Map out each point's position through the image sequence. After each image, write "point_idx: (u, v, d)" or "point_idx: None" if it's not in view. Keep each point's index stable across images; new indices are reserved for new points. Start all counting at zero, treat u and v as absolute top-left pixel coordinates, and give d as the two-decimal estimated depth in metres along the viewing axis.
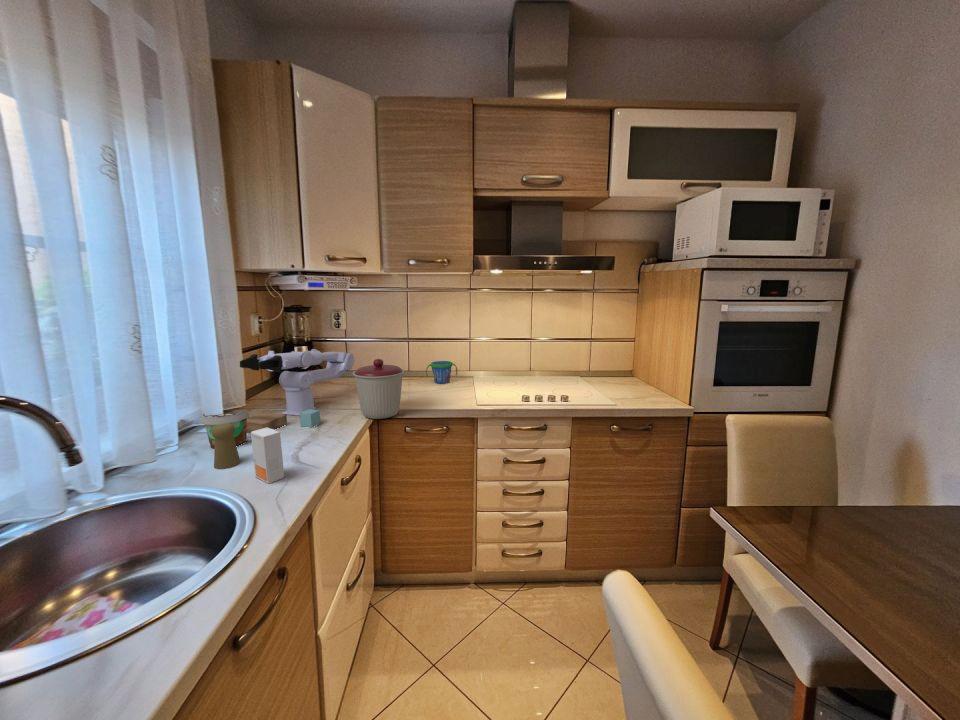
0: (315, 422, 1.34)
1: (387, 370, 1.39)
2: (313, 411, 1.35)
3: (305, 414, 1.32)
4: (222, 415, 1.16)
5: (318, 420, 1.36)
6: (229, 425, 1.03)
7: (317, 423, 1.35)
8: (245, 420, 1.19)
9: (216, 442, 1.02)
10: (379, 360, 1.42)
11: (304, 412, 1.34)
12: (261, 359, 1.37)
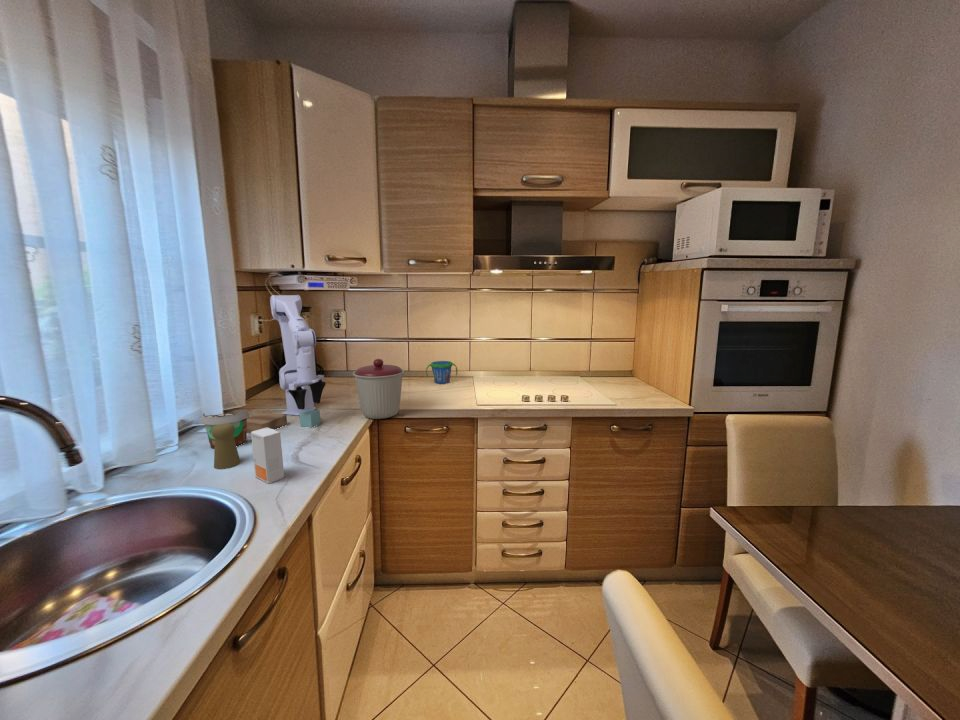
0: (315, 422, 1.34)
1: (387, 370, 1.39)
2: (313, 411, 1.35)
3: (305, 414, 1.32)
4: (222, 415, 1.16)
5: (318, 420, 1.36)
6: (229, 425, 1.03)
7: (317, 423, 1.35)
8: (245, 420, 1.19)
9: (216, 442, 1.02)
10: (379, 360, 1.42)
11: (304, 412, 1.34)
12: None
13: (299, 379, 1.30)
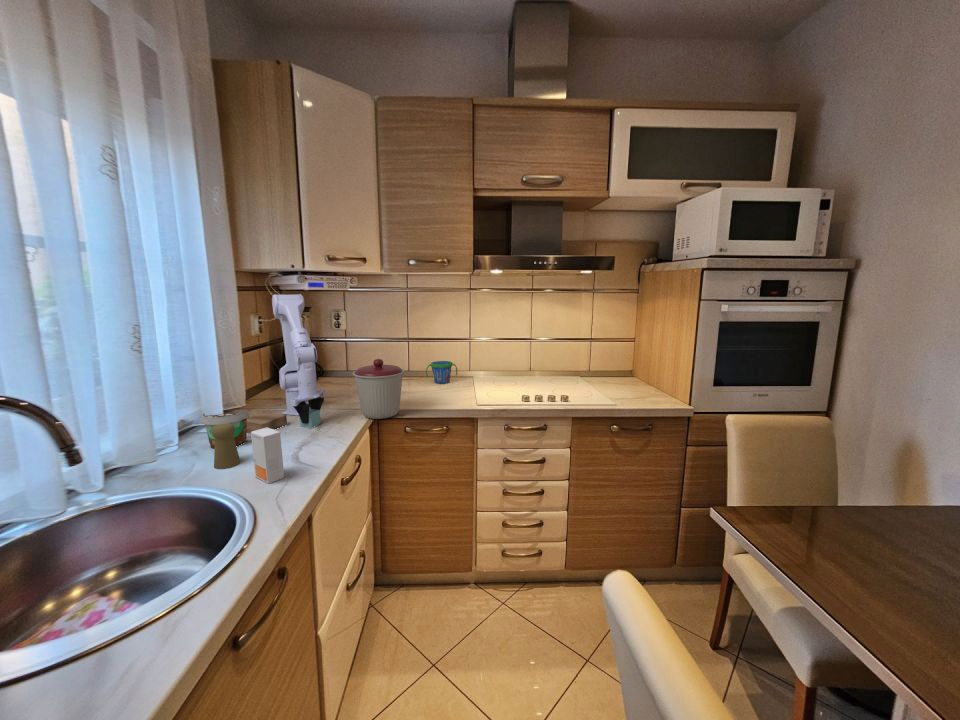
0: (315, 422, 1.34)
1: (387, 370, 1.39)
2: (313, 411, 1.34)
3: None
4: (222, 415, 1.16)
5: (318, 420, 1.36)
6: (229, 425, 1.03)
7: (317, 423, 1.35)
8: (245, 420, 1.19)
9: (216, 442, 1.02)
10: (379, 360, 1.42)
11: None
12: None
13: (300, 395, 1.31)
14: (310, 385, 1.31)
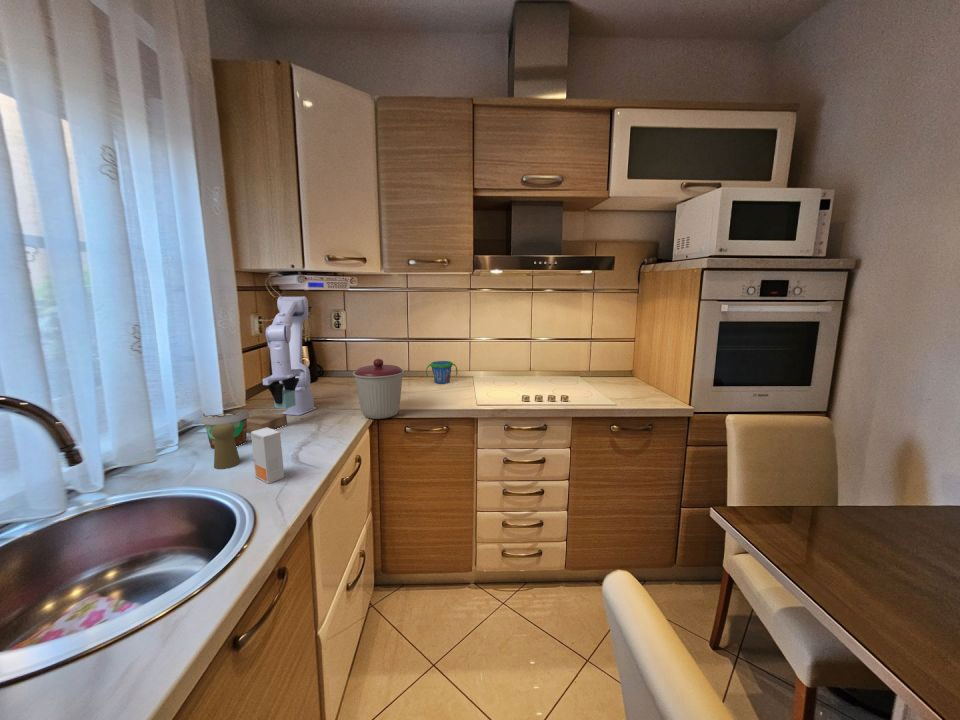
0: (290, 402, 1.32)
1: (387, 370, 1.39)
2: (288, 391, 1.32)
3: None
4: (222, 415, 1.16)
5: (293, 401, 1.33)
6: (229, 425, 1.03)
7: (292, 404, 1.32)
8: (245, 420, 1.19)
9: (216, 442, 1.02)
10: (379, 360, 1.42)
11: None
12: None
13: (274, 374, 1.28)
14: (283, 364, 1.28)
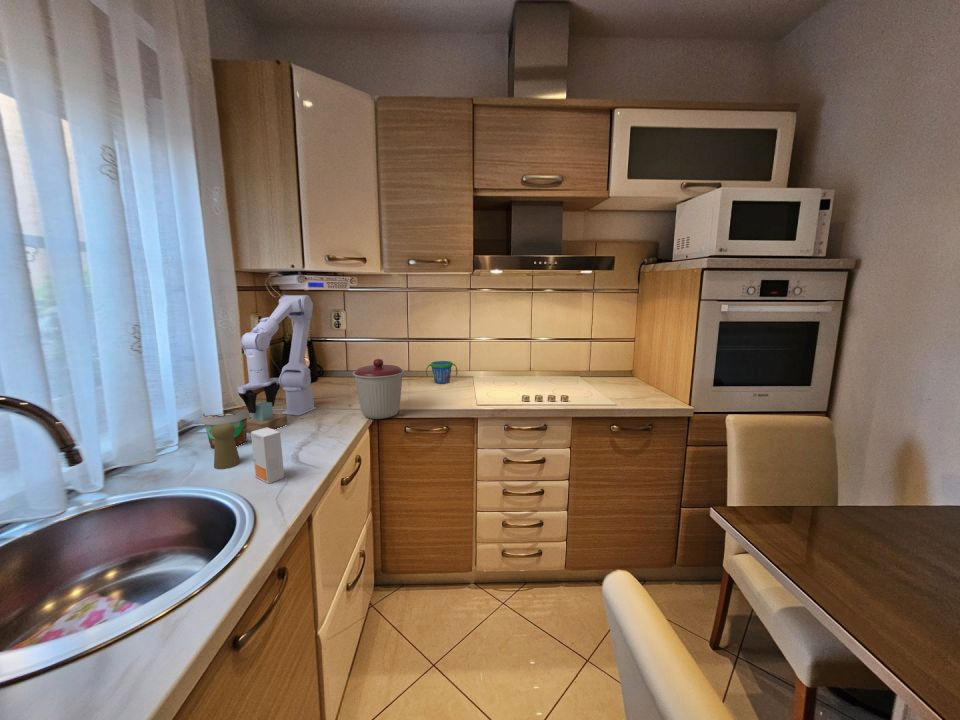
0: (267, 414, 1.31)
1: (387, 370, 1.39)
2: (265, 403, 1.31)
3: (256, 406, 1.29)
4: (222, 415, 1.16)
5: (270, 412, 1.32)
6: (229, 425, 1.03)
7: (269, 416, 1.32)
8: (245, 420, 1.19)
9: (216, 442, 1.02)
10: (379, 360, 1.42)
11: None
12: None
13: (250, 382, 1.27)
14: (260, 372, 1.27)
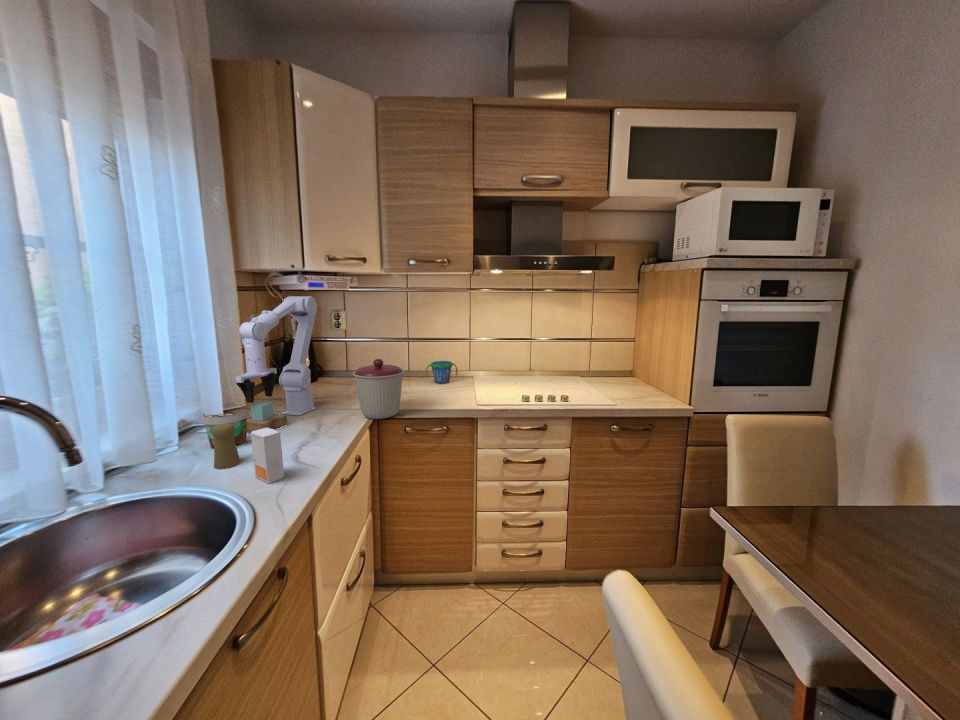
0: (267, 414, 1.31)
1: (387, 370, 1.39)
2: (265, 403, 1.31)
3: (256, 406, 1.29)
4: (222, 415, 1.16)
5: (271, 412, 1.32)
6: (229, 425, 1.03)
7: (269, 415, 1.32)
8: (245, 420, 1.19)
9: (216, 442, 1.02)
10: (379, 360, 1.42)
11: (255, 404, 1.30)
12: None
13: (248, 372, 1.27)
14: (258, 362, 1.27)
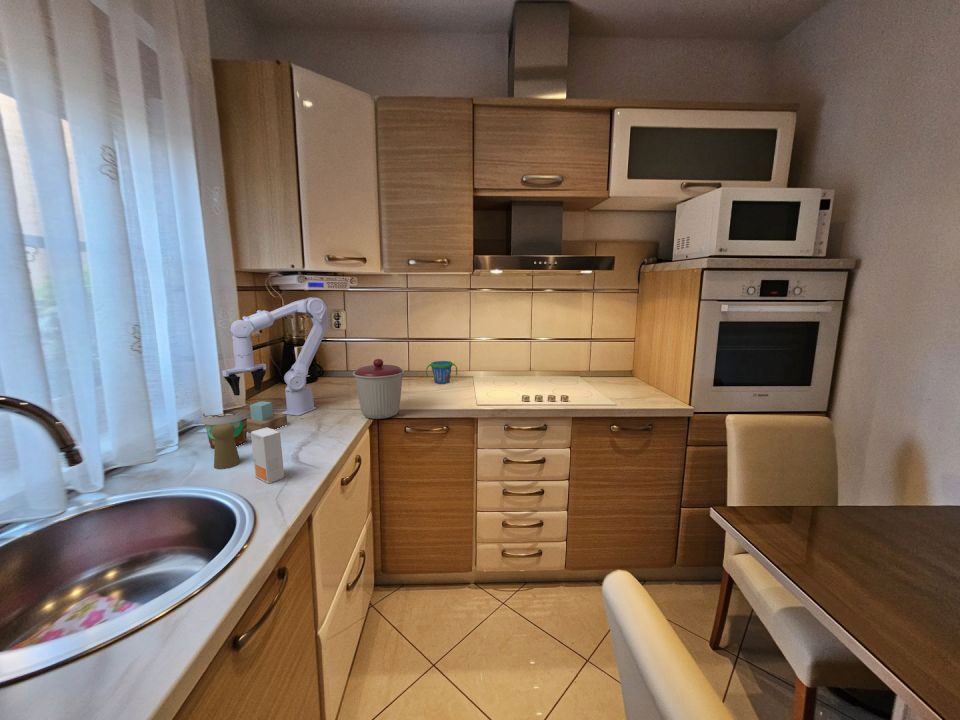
0: (267, 414, 1.31)
1: (387, 370, 1.39)
2: (265, 403, 1.31)
3: (256, 406, 1.29)
4: (222, 415, 1.16)
5: (270, 412, 1.32)
6: (229, 425, 1.03)
7: (269, 416, 1.32)
8: (245, 420, 1.19)
9: (216, 442, 1.02)
10: (379, 360, 1.42)
11: (255, 404, 1.30)
12: None
13: (235, 366, 1.36)
14: (244, 357, 1.35)
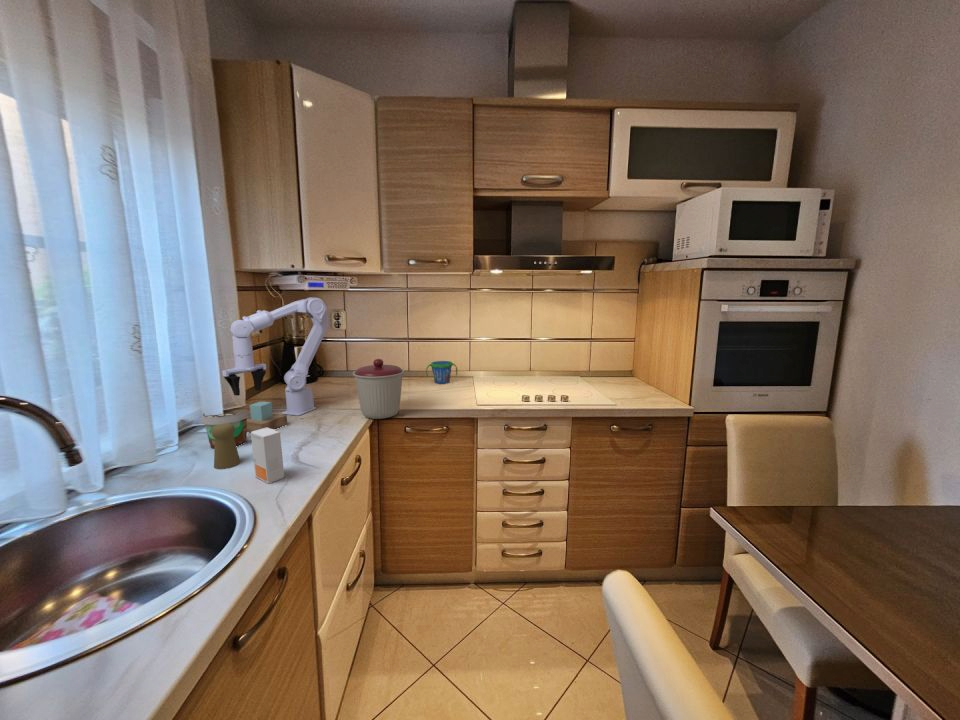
0: (266, 414, 1.31)
1: (387, 370, 1.39)
2: (264, 403, 1.31)
3: (255, 406, 1.29)
4: (222, 415, 1.16)
5: (270, 412, 1.32)
6: (229, 425, 1.03)
7: (269, 416, 1.32)
8: (245, 420, 1.19)
9: (216, 442, 1.02)
10: (379, 360, 1.42)
11: (255, 404, 1.30)
12: None
13: (235, 366, 1.36)
14: (244, 357, 1.35)
